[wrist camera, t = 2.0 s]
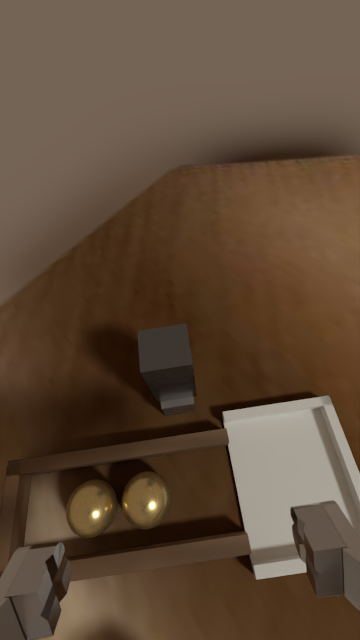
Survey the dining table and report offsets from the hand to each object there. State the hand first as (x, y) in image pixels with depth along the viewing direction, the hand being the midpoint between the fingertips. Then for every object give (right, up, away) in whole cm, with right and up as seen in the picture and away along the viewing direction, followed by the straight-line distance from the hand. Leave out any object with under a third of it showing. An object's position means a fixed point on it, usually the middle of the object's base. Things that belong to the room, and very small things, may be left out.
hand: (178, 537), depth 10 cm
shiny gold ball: (-2, -8, +15) cm, 17 cm away
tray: (+10, -6, +15) cm, 19 cm away
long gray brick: (0, 0, +20) cm, 20 cm away
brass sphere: (-7, -9, +15) cm, 19 cm away
